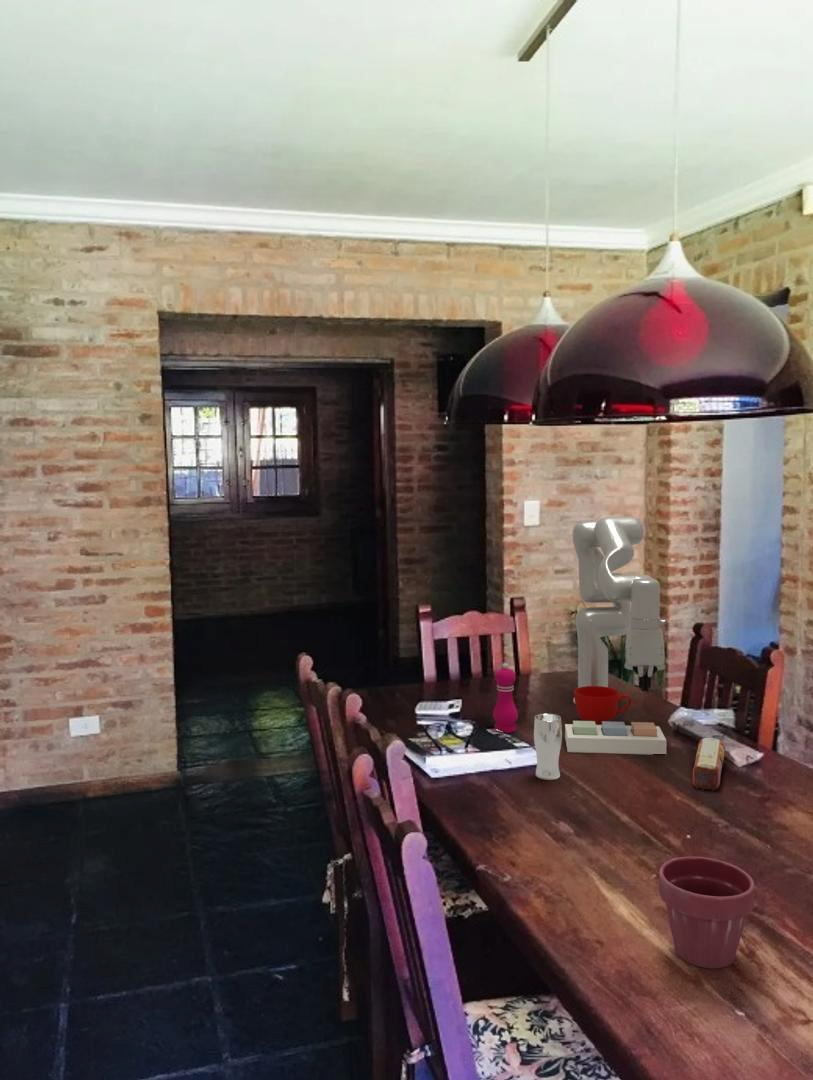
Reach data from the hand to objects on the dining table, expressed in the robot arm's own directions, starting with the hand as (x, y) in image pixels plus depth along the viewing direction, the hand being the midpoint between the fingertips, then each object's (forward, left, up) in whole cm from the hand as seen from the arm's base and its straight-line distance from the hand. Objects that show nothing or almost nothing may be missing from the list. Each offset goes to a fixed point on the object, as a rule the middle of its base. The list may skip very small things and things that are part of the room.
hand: (644, 690), depth 230 cm
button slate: (0, -8, -13) cm, 15 cm away
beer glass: (+24, -27, -16) cm, 40 cm away
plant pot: (+99, -5, -16) cm, 100 cm away
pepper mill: (-12, -38, -16) cm, 43 cm away
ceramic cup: (-20, -9, -16) cm, 27 cm away
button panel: (0, -8, -16) cm, 18 cm away
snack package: (+20, +13, -17) cm, 29 cm away
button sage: (0, -16, -13) cm, 20 cm away
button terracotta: (0, 0, -13) cm, 13 cm away
